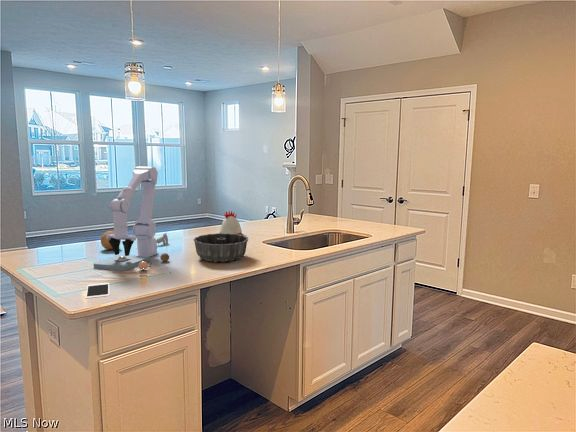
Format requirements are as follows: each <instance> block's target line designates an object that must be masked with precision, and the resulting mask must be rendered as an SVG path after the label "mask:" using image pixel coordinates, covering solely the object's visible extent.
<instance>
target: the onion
mask: <svg viewBox="0 0 576 432" xmlns="http://www.w3.org/2000/svg"><path fill="white" fill-rule="evenodd" d="M107 234H114V230H106V231H105V232H104V233H103V234H102V235H101V236H100V244H101V246H102V247H103V248H104V249H105V250H113V248H112V246H111V244H110V243H109V240H110V239H107ZM120 243H122V240H120Z"/></svg>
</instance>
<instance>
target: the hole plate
mask: <svg viewBox="0 0 576 432" xmlns="http://www.w3.org/2000/svg"><path fill="white" fill-rule="evenodd" d="M120 256H125V254H123V253H122V254H118V255H114V256H113V257H109V258H106V259H103V260H100V261H97V262H94V263H93V269H99V270H101V269H102V270H110V271H116V272H117V271H119V272H126V271H128V270H131V269H134V268H136V267H138V265H139V263H140V262H142V261H145V262H147V263H149V262H150V260H151V259H150V258H151V256H150V257H143V256H134V254H133V255H131V254H129V255H128V256H125V257H126V258H127V261H126V262H118V258H119V257H120Z"/></svg>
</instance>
